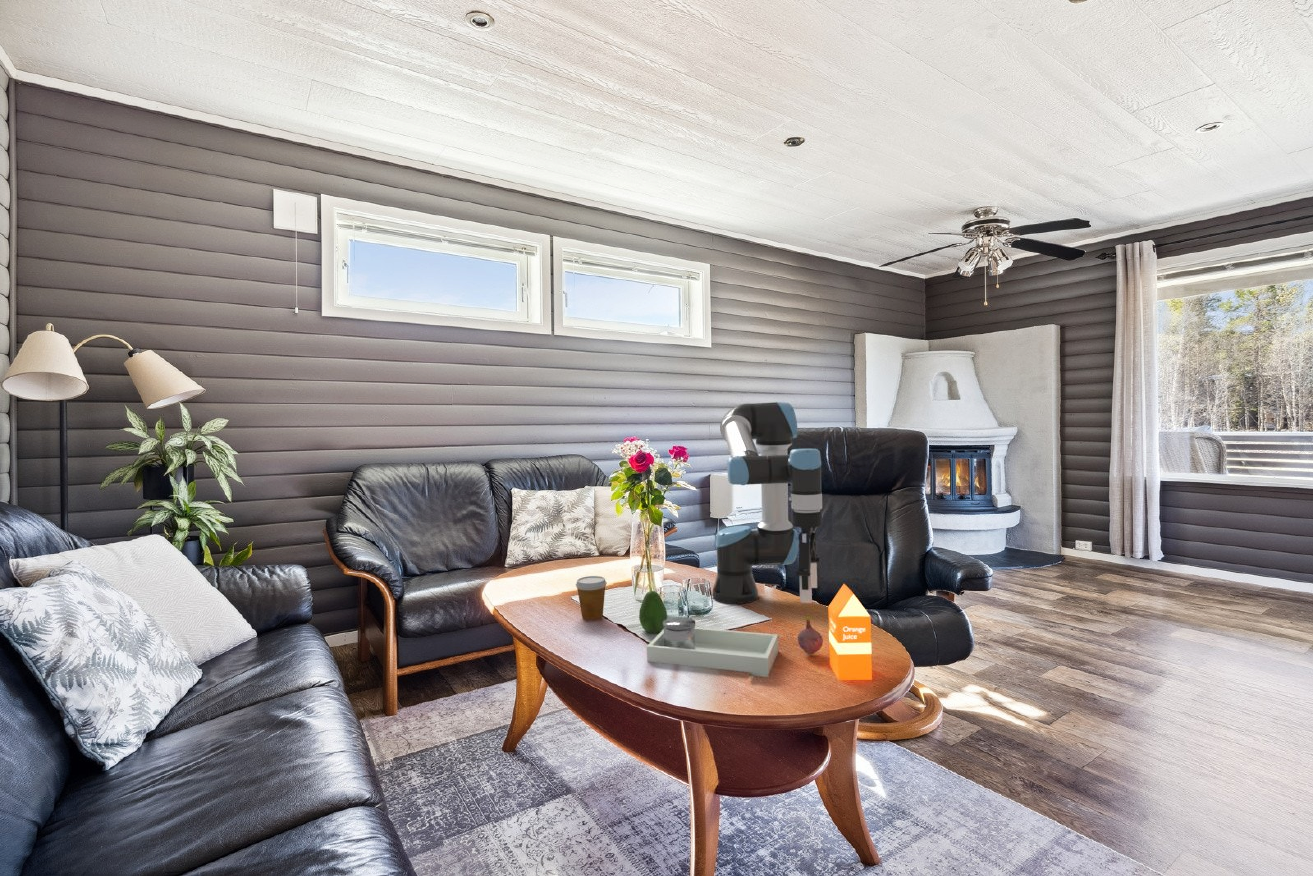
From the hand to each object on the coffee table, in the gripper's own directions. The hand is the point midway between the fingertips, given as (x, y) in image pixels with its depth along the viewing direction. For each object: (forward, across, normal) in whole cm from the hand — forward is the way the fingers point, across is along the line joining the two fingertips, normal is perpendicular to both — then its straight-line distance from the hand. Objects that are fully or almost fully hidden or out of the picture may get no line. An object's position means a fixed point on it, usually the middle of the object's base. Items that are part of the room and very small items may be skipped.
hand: (809, 594), depth 156 cm
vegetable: (+16, 0, 0) cm, 16 cm away
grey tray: (+16, +8, -23) cm, 29 cm away
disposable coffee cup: (+15, -13, -67) cm, 70 cm away
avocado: (+16, -5, -44) cm, 47 cm away
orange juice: (+16, +8, +10) cm, 20 cm away
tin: (+15, +8, -32) cm, 36 cm away
